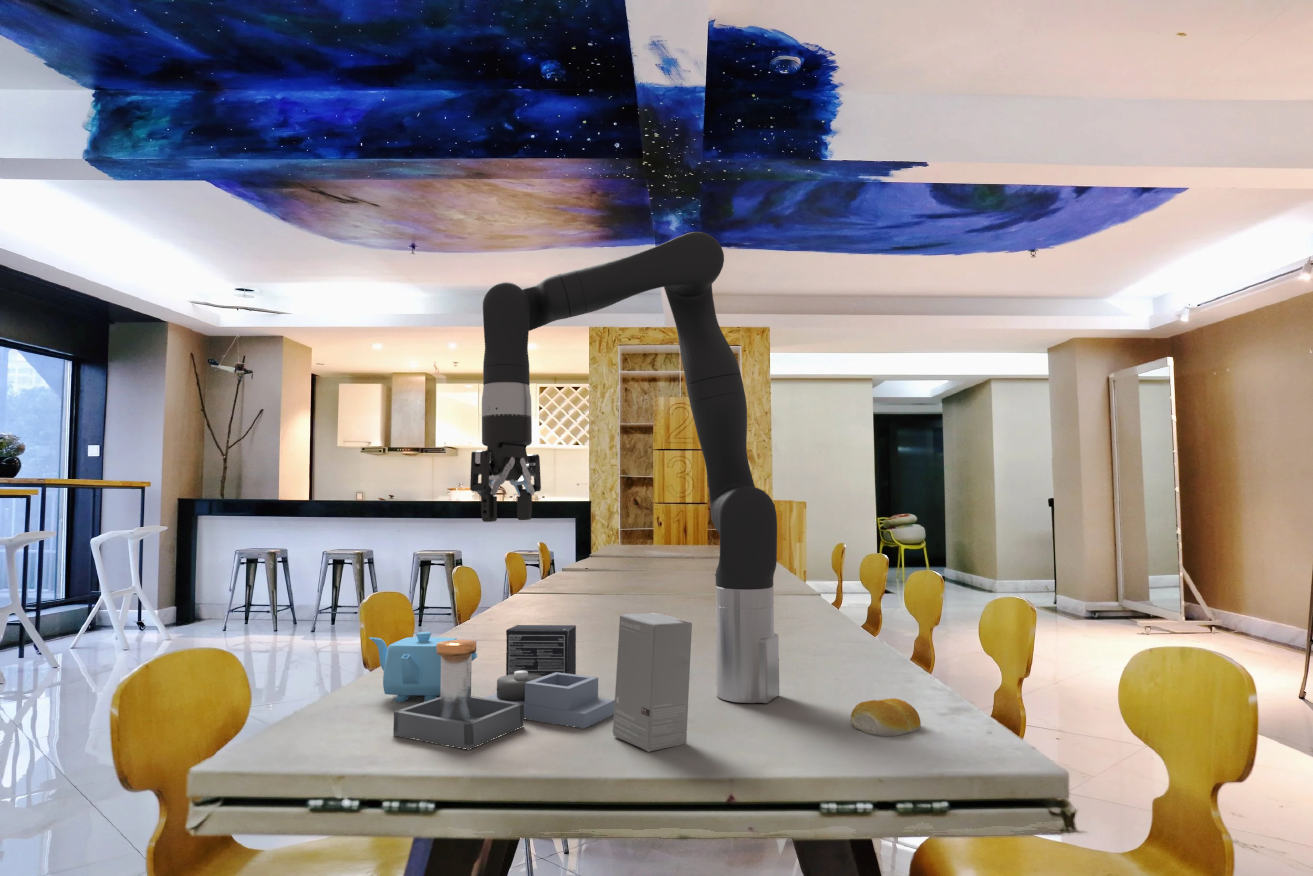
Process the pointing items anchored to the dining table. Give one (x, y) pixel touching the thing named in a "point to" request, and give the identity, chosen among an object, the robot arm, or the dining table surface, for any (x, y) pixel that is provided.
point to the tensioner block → (556, 697)
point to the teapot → (412, 666)
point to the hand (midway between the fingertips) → (507, 520)
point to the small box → (541, 649)
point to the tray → (459, 722)
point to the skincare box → (652, 680)
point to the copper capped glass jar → (456, 678)
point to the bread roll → (885, 717)
